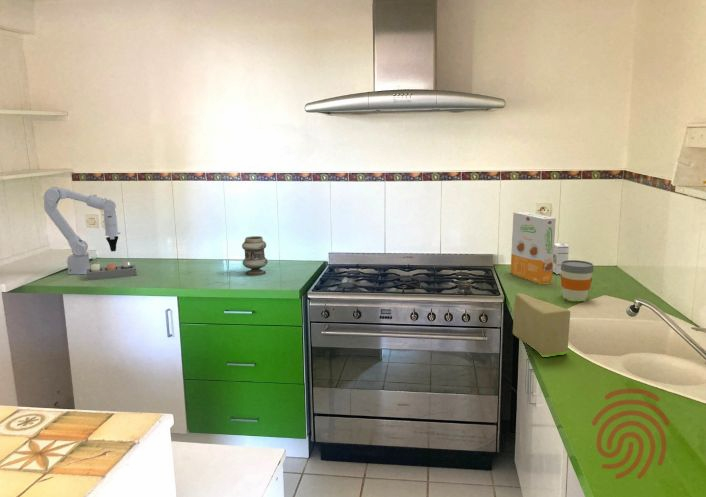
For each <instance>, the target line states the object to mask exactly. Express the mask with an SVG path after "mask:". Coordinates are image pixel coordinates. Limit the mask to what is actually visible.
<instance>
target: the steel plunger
mask: <svg viewBox="0 0 706 497" xmlns="http://www.w3.org/2000/svg"><path fill="white" fill-rule="evenodd" d="M121 262H122V263H121V266H122V268H123V269H127V268H131V265H132V262H131V261H130V260H126V261H125V260H124V261H121Z"/></svg>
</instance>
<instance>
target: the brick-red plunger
mask: <svg viewBox="0 0 706 497" xmlns="http://www.w3.org/2000/svg"><path fill="white" fill-rule="evenodd" d="M106 267H107V270H116V263H108V264H106Z"/></svg>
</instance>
